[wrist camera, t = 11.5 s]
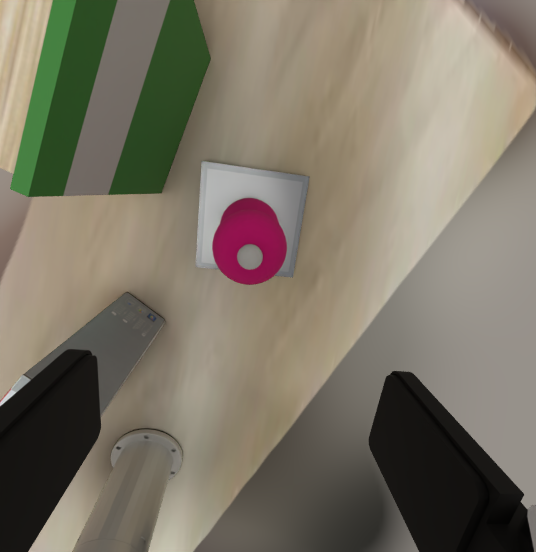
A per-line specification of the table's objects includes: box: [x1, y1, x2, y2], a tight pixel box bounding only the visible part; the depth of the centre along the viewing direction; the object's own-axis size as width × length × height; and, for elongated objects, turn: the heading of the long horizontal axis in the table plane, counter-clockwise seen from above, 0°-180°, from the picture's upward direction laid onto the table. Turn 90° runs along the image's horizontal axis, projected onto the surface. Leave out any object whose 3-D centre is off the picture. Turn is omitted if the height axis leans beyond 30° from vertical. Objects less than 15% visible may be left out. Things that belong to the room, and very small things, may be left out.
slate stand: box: [196, 161, 309, 277], centre depth 39 cm, size 14×14×3 cm
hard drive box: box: [0, 292, 165, 417], centre depth 35 cm, size 16×8×20 cm, turn 136°
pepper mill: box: [212, 198, 287, 285], centre depth 28 cm, size 7×7×20 cm
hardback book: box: [0, 0, 211, 197], centre depth 24 cm, size 18×7×24 cm, turn 154°
